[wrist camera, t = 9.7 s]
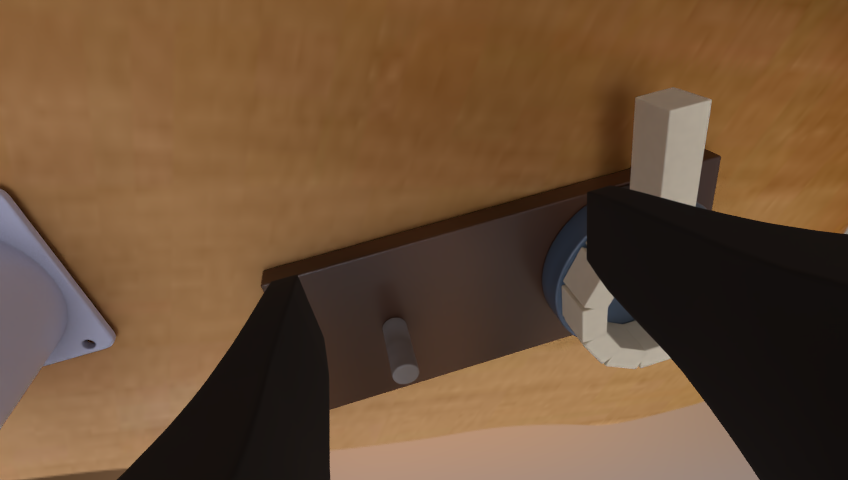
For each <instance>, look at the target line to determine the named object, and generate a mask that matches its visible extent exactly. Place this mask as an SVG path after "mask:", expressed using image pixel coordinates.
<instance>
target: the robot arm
mask: <svg viewBox="0 0 848 480" xmlns="http://www.w3.org/2000/svg"><path fill="white" fill-rule="evenodd" d="M587 261H588V263H589V264H590V266H591V267H592V269H593V270H594V272H595V273H596V275H597V276H598V277H599V279H600V280H601V282H602V283H603V284H604V286H605V287H606V289H607V290H608V291H609V292H610V293H611V294H612V296H613V297H614V298H615V299H616V300H617V301H618V302H619V303H620V304H621V305H622V306H623V308H624V309H625V310H626V311H627V312H628V313H629V314H630V315H631V316H632V317H633V318H634V319H635V320H636V321H637V323H638V324H639V325H640V326H641V327H642V328H643V329H644V330H645V331H646V332H647V333H648V334H649V335H650V336H651V337H652V338H653V339H654V341H655V342H656V343H657V344H658V345H659V346H660V347H661V348H662V349H663V350H664V351H665V352H666V353H667V354H668V355H669V357H670V358H671V359H672V360H673V361H674V362H675V364H676V365H677V366H678V367H679V368H680V369H681V370H682V372H683V373H684V374H685V376H686V377H687V378H688V380H689V381H690V382H691V384H692V385H693V386H694V387H695V389H696V390H697V391H698V393H699V394H700V395H701V397H702V398H703V399H704V401H705V402H706V403H707V405H708V406H709V407H710V409H711V410H712V411H713V413H714V414H715V416H716V417H717V418H718V420H719V421H720V422H721V424H722V425H723V427H724V428H725V430H726V431H727V432H728V434H729V435H730V437H731V438H732V439H733V441H734V442H735V444H736V445H737V447H738V448H739V449H740V451H741V453H742V454H743V455H744V457H745V458H746V460H747V462H748V463H749V464H750V466H751V467H752V469H753V471H754V472H755V474H756V475H757V477H758V478H759V479H760V480H848V234H839V233H831V232H823V231H815V230H808V229H802V228H796V227H789V226H783V225H777V224H771V223H766V222H760V221H755V220H751V219H746V218H741V217H737V216H732V215H728V214H723V213H719V212H715V211H711V210H707V209H703V208H699V207H695V206H691V205H687V204H684V203H680V202H676V201H672V200H669V199H665V198H661V197H658V196H654V195H650V194H647V193H643V192H639V191H635V190H631V189H627V188H622V187H617V186H606V187H603V188H599V189H596V190H592V191H589V192H587ZM115 339H116V335H115V332H114V331H113V330H112V328H111V327H110V326H109V325H108V323H107V322H106V321H105V319H104V318H103V317H102V315H101V314H100V313H99V311H98V310H97V309H96V308H95V306H94V305H93V304H92V302H91V301H90V300H89V298H88V297H87V296H86V295H85V293H84V292H83V291H82V289H81V288H80V287H79V285H78V284H77V283H76V281H75V280H74V279H73V278H72V276H71V275H70V274H69V272H68V271H67V270H66V268H65V267H64V266H63V264H62V263H61V262H60V261H59V259H58V258H57V257H56V255H55V254H54V253H53V251H52V250H51V249H50V248H49V246H48V245H47V244H46V242H45V241H44V240H43V238H42V237H41V236H40V234H39V233H38V232H37V231H36V229H35V228H34V227H33V225H32V224H31V223H30V221H29V220H28V219H27V217H26V216H25V215H24V214H23V212H22V211H21V210H20V208H19V207H18V206H17V204H16V203H15V202H14V200H13V199H12V198H11V197H10V195H9V194H8V193H7V192H6V191H4V190H2V189H0V429H1V427H2V426H3V424H4V423H5V422H6V420H7V419H8V417H9V416H10V414H11V413H12V411H13V410H14V408H15V407H16V405H17V404H18V402H19V401H20V399H21V398H22V396H23V395H24V393H25V392H26V390H27V389H28V387H29V386H30V384H31V383H32V381H33V380H34V378H35V377H36V375H37V374H38V372H39V371H40V369H41V368H42V367H43V366H47V365H50V364H54V363H57V362H61V361H64V360H68V359H71V358H75V357H78V356H82V355H85V354H89V353H92V352H96V351H99V350H103V349H106V348H109V347H111V346H112V345H113V343H114V341H115ZM87 340H92V341H93V342H95V343H91V342H88V341H87ZM329 454H330V449H329V370H328V362H327V354H326V347H325V340H324V336H323V334H322V331H321V329H320V327H319V324H318V322H317V320H316V317H315V315H314V313H313V310H312V308H311V305H310V303H309V301H308V298H307V296H306V294H305V291H304V289H303V287H302V284H301V282H300V279H299V277H298V275H297V274H296V275H292V276H289V277H285V278H282V279H278V280H275V281H271V283H270V284H269V286H268V287H267V289H266V291H265V292H264V294H263V296H262V297H261V299H260V300H259V302H258V304H257V305H256V307H255V309H254V310H253V312H252V314H251V315H250V317H249V319H248V320H247V322H246V324H245V325H244V327H243V328H242V330H241V331H240V333H239V335H238V336H237V338H236V339H235V341H234V342H233V344H232V345H231V347H230V348H229V350H228V351H227V353H226V354H225V355H224V357H223V358H222V360H221V361H220V362H219V364H218V365H217V367H216V368H215V370H214V371H213V372H212V374H211V375H210V377H209V378H208V379H207V381H206V382H205V383H204V385H203V386H202V387H201V389H200V390H199V391H198V392H197V394H196V395H195V396H194V397H193V399H192V400H191V401H190V402H189V403H188V405H187V406H186V407H185V408H184V409H183V410H182V412H181V413H180V414H179V415H178V416H177V417H176V419H175V420H174V421H173V422H172V423H171V424H170V425H169V427H168V428H167V429H166V430H165V431H164V432H163V433H162V434H161V435H160V436H159V437H158V438H157V439H156V440H155V441H154V442H153V443H152V445H151V446H150V447H149V448H148V449H147V450H146V451H145V452H144V453H143V454H142V455H141V456H140V457H139V458H138V459H137V460H136V461H135V462H134V463H133V464H132V465H131V466H130V467H129V468H128V469H127V470H126V471H125V473H123V474H122V475H121V476H120V477H119V478H118V479H117V480H330V463H329V462H330V461H329V459H330V456H329Z"/></svg>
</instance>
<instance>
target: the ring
mask: <svg viewBox="0 0 848 480" xmlns="http://www.w3.org/2000/svg"><path fill="white" fill-rule="evenodd" d="M711 102H712V100H711V99H708V98H705V97H702V96H699V95H696V94H693V93H690V92H687V91H684V90H681V89H677V88H674V87H672V88H669V89H665V90H661V91H657V92H654V93H650V94H646V95H642V96H638V97H636V98H635V113H634V129H633V145H632V161H631V177H630V189H631V190H635V191H639V192H643V193H647V194H650V195H654V196H658V197H661V198H665V199H669V200H672V201H676V202H680V203H684V204H687V205H691V206H695V207H696V201H697V194H698V188H699V181H700V174H701V168H702V161H703V155H704V148H705V142H706V135H707V129H708V122H709V116H710V109H711ZM586 245H587V241H586ZM563 282H564V283H565V285H562V314H563V316H564V318H565V321H566V322H567V324H568V325H569V326H570V328H571V329H572V331H573V332H574V333H575V335H576V336H577V337H578V339H579V340H580V342H581V343H582V344H583V346H584V347H585V348H586V349H587V350H588V351H589V352H590V353H591V354H592V355H593V356H594V357H595V358H596V359H597V360H598V361H599V362H600V363H604V364H605V365H606V366H611V367H620V368H630V369H636V368H637V367H638V366H639V367H640V368H643V367H646V366H649V365H652V364H655V363H659V362H662V361H665V360H668V359H671V358H670V357H669V355H668V354H667V353H666V352H665V351H664V350H663V349H662V348H661V347H660V346H659V345H658V344H657V343H656V342H655V341H654V339H653V338H652V337H651V336H650V335H649V334H648V333H647V332H646V331H645V330H644V329H643V328H642V327H641V326H640V325H639V324H638V323H637V321H636V320H635V321H632V322H628V323H625V324H617V323H611V322H607V314H608V307H609V305H610V303H611V302H612V300H613V298H614V297H613V296H612V294H611V293H610V292H609V291H608V290H607V289H606V287H605V286H604V284H603V283H602V282H601V280H600V279H599V277H598V276H597V275H596V273H595V272H594V270H593V269H592V267H591V266H590V264H589V263H588V261H587V248H584V247H581V249H580V251H579V252H578V254H577V256H576V258H575V260H574V261H573V263H572V265H571V267H570V269H569V271H568V272H567V274H566V276H565V278H564V280H563Z"/></svg>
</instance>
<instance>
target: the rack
mask: <svg viewBox="0 0 848 480" xmlns="http://www.w3.org/2000/svg"><path fill="white" fill-rule="evenodd" d="M720 160H721V156H719V155H717V154H715V153H713V152H711V151H708V150H706V149H704V155H703V161H702V168H701V174H700V181H699V188H698V194H697V201H696V207H699V208H703V209H707V210H711V211H712V205H713V200H714V194H715V188H716V182H717V177H718V171H719V165H720ZM630 177H631V169H627V170H624V171H620V172H616V173H613V174H609V175H606V176H602V177H598V178H595V179H591V180H588V181H584V182H581V183H577V184H573V185H570V186H566V187H563V188H559V189H555V190H552V191H548V192H545V193H541V194H538V195H534V196H530V197H527V198H523V199H520V200H516V201H512V202H509V203H505V204H502V205H498V206H494V207H491V208H487V209H484V210H480V211H477V212H473V213H469V214H466V215H462V216H459V217H455V218H451V219H448V220H444V221H441V222H437V223H434V224H430V225H426V226H423V227H419V228H416V229H412V230H408V231H405V232H401V233H398V234H394V235H391V236H387V237H383V238H380V239H376V240H373V241H369V242H365V243H362V244H358V245H355V246H351V247H347V248H344V249H340V250H337V251H333V252H330V253H326V254H322V255H319V256H315V257H312V258H308V259H304V260H301V261H297V262H294V263H290V264H287V265H283V266H279V267H276V268H272V269H269V270H265V271H263V275H262V282H261V287H262V289H263V291H264V292H265V291H266V289H267V287H268V286H269V284H270V283H271V281H275V280H278V279H282V278H285V277H289V276H292V275H296V274H297V275H298V277H299V279H300V282H301V284H302V287H303V289H304V291H305V294H306V296H307V298H308V301H309V303H310V305H311V308H312V310H313V313H314V315H315V317H316V320H317V322H318V324H319V327H320V329H321V331H322V334H323V336H324V340H325V347H326V354H327V362H328V370H329V410H330V409H334V408H337V407H340V406H343V405H347V404H350V403H353V402H356V401H360V400H363V399H366V398H369V397H373V396H376V395H379V394H382V393H386V392H389V391H392V390H395V389H399V388H402V387H405V386H408V385H412V384H415V383H418V382H421V381H425V380H428V379H431V378H434V377H437V376H441V375H444V374H447V373H450V372H454V371H457V370H460V369H463V368H467V367H470V366H473V365H476V364H480V363H483V362H486V361H489V360H493V359H496V358H499V357H502V356H506V355H509V354H512V353H515V352H519V351H522V350H525V349H528V348H532V347H535V346H538V345H541V344H545V343H548V342H551V341H554V340H558V339H561V338H564V337H567V336H571V335H574V336H576V335H575V333H574V332H573V331H572V329H571V328H570V326H569V325H568V324H567V322H566V321H565V318H564V316H563V314H562V285H565V283H564V282H563V280H564V278H565V276H566V274H567V272H568V271H569V269H570V267H571V265H572V263H573V261H574V260H575V258H576V256H577V254H578V252H579V251H580V249H581V247H584V248H587V245H586V241H587V192H589V191H592V190H596V189H599V188H603V187H606V186H617V187H622V188H627V189H630ZM632 321H635V319H634V318H633V317H632V316H631V315H630V314H629V313H628V312H627V311H626V310H625V309H624V308H623V306H622V305H621V304H620V303H619V302H618V301H617V300H616V299H615V298H613V300H612V302H611V303H610V305H609V307H608V314H607V322H611V323H617V324H625V323H628V322H632ZM576 337H577V336H576Z"/></svg>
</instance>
